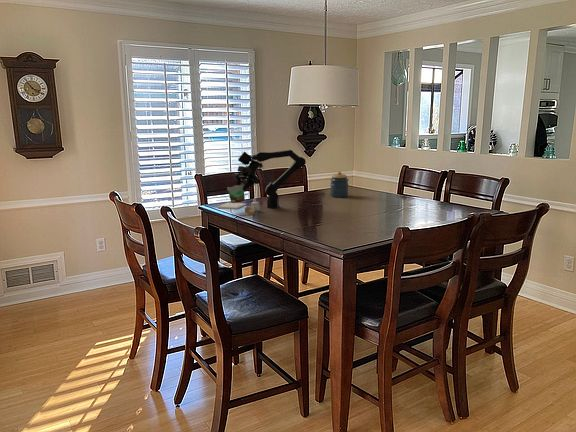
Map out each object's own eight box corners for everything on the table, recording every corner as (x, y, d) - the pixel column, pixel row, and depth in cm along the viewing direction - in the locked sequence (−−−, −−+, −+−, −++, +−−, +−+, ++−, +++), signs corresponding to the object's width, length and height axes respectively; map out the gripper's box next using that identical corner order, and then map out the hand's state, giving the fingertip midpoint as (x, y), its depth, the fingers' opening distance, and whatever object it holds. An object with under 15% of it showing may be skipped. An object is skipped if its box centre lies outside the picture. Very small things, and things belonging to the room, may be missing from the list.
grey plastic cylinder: (260, 210, 286) (260, 202, 285) (257, 211, 281) (257, 203, 280) (253, 209, 287) (252, 201, 286) (250, 211, 283) (249, 203, 282)
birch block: (254, 214, 275) (254, 206, 274) (251, 215, 271) (251, 207, 270) (247, 213, 277) (247, 206, 276) (244, 215, 272) (244, 207, 271)
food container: (236, 204, 275) (233, 187, 272) (229, 203, 279) (226, 187, 277) (251, 198, 284) (248, 182, 281) (244, 198, 288) (241, 182, 285)
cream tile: (245, 205, 303) (245, 203, 302) (236, 209, 290) (236, 207, 289) (227, 204, 307) (227, 202, 306) (218, 208, 294) (218, 206, 293)
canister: (327, 195, 337) (327, 170, 334) (344, 194, 340) (345, 170, 337) (333, 198, 325) (333, 172, 321) (351, 197, 328) (351, 172, 324)
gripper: (234, 160, 287) (221, 180, 281) (255, 161, 275) (243, 182, 269) (243, 171, 294) (231, 191, 288) (265, 173, 282) (253, 194, 276)
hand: (239, 189), depth 280 cm, fingers closed on food container, 6 cm apart
